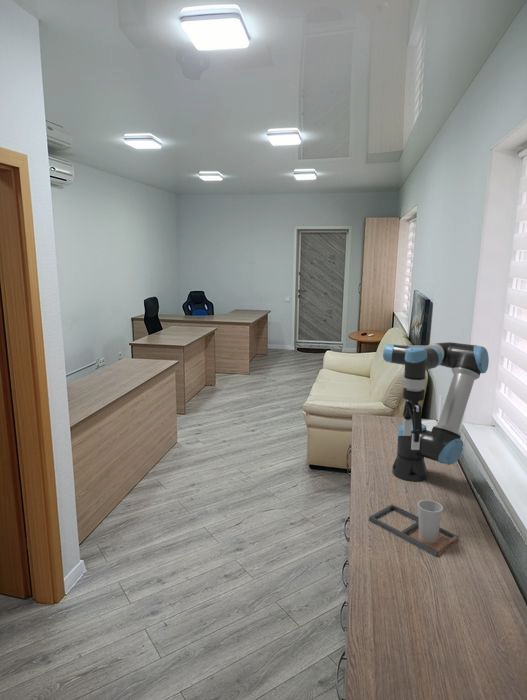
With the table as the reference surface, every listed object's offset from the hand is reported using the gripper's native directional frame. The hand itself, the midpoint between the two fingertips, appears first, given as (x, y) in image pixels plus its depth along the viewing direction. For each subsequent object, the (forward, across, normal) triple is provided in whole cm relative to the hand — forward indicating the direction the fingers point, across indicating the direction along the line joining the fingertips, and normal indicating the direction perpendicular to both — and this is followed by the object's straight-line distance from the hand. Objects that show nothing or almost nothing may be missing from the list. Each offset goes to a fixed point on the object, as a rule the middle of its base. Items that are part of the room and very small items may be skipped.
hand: (411, 442), depth 171 cm
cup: (+26, +22, +2) cm, 34 cm away
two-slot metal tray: (+26, +17, -2) cm, 31 cm away
